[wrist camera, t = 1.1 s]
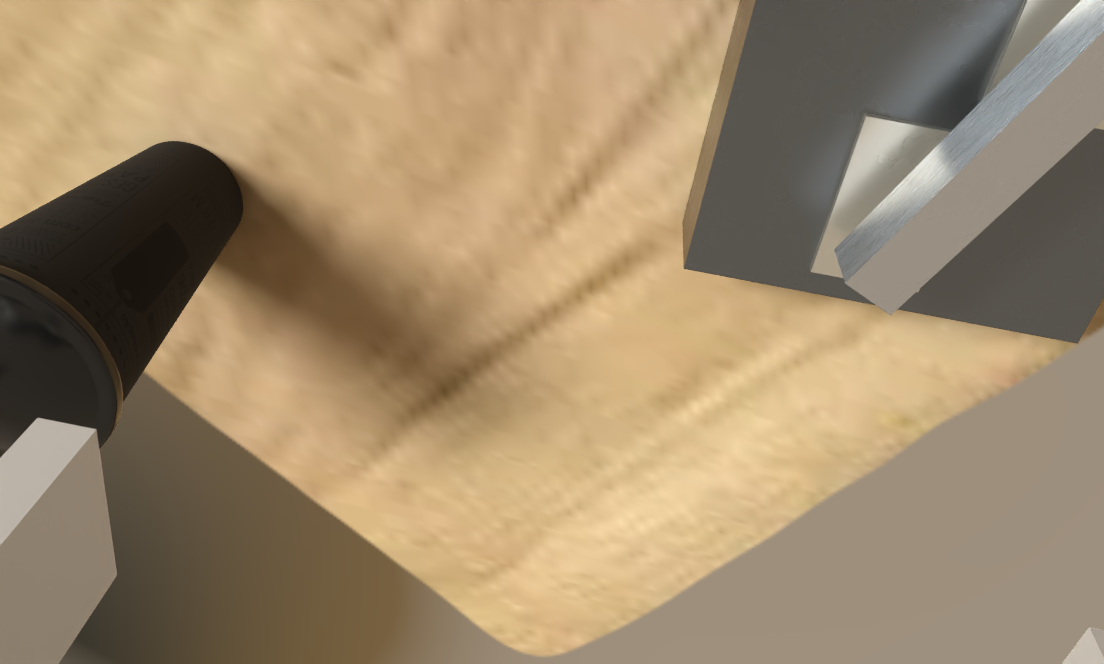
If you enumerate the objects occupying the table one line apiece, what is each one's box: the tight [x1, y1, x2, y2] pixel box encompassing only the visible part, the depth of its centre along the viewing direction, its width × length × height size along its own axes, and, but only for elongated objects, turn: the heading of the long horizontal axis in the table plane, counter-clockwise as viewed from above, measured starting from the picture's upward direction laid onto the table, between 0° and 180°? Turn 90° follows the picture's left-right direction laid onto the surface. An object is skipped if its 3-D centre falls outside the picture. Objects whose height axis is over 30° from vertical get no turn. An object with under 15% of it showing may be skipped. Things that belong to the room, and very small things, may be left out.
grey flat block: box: [683, 0, 1104, 343], centre depth 31 cm, size 20×15×5 cm
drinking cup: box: [0, 141, 243, 458], centre depth 31 cm, size 8×8×20 cm
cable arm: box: [834, 0, 1104, 315], centre depth 27 cm, size 19×3×3 cm, turn 146°
